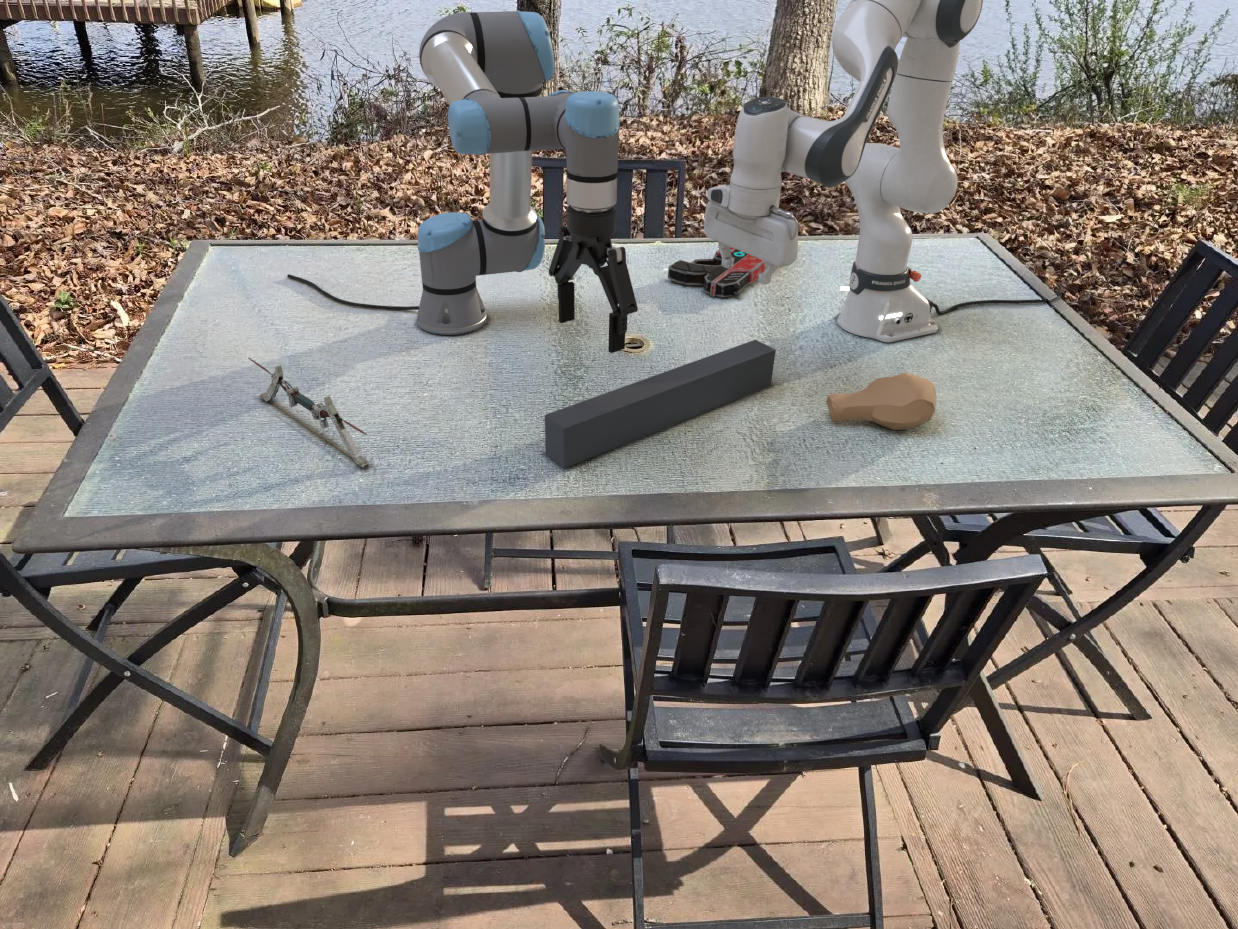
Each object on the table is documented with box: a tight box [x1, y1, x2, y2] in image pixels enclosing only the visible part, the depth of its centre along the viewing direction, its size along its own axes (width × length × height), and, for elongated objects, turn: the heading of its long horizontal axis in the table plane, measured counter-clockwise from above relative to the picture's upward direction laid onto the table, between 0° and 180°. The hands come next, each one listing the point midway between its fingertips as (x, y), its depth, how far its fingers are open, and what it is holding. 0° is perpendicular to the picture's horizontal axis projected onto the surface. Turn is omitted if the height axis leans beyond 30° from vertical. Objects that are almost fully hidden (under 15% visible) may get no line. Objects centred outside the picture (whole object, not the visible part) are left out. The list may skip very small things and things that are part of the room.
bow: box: [247, 356, 370, 468], centre depth 154 cm, size 39×2×10 cm, turn 47°
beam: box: [544, 339, 777, 470], centre depth 162 cm, size 51×6×8 cm, turn 128°
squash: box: [825, 372, 938, 431], centre depth 163 cm, size 11×20×9 cm, turn 90°
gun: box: [667, 247, 767, 299], centre depth 224 cm, size 4×31×19 cm
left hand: (590, 335), depth 143 cm, fingers open, 13 cm apart
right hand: (745, 274), depth 160 cm, fingers open, 8 cm apart
